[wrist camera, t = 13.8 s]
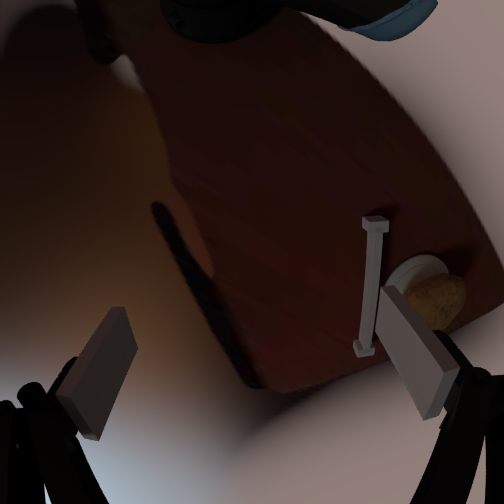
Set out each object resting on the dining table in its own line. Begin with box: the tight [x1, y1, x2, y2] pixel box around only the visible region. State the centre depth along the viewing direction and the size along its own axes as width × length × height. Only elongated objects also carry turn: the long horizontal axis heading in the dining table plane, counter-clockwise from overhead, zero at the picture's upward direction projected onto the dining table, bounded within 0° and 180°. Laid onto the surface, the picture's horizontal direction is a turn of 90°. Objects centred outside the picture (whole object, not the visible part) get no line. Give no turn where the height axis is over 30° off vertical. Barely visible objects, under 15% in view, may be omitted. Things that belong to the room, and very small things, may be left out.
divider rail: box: [353, 215, 389, 357], centre depth 45 cm, size 24×3×3 cm, turn 5°
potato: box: [403, 273, 468, 331], centre depth 43 cm, size 10×14×8 cm
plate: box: [383, 254, 449, 295], centre depth 47 cm, size 14×14×1 cm
